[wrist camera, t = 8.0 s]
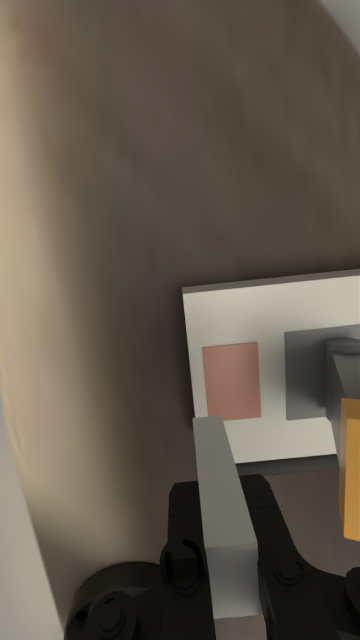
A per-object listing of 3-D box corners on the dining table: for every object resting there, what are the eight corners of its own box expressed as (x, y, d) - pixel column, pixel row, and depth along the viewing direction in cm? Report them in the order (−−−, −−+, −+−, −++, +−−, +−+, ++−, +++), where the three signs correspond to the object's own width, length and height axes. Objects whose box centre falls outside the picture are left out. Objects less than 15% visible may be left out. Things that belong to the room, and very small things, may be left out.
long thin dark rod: (202, 472, 28) (204, 485, 26) (199, 444, 27) (201, 455, 26) (375, 456, 28) (387, 467, 26) (377, 427, 27) (389, 437, 26)
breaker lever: (322, 407, 21) (344, 537, 12) (323, 337, 20) (347, 418, 10) (362, 411, 20) (421, 557, 11) (365, 337, 19) (434, 428, 9)
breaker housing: (196, 429, 27) (200, 468, 22) (181, 287, 24) (182, 294, 19) (421, 407, 27) (479, 441, 22) (434, 260, 24) (504, 260, 19)
